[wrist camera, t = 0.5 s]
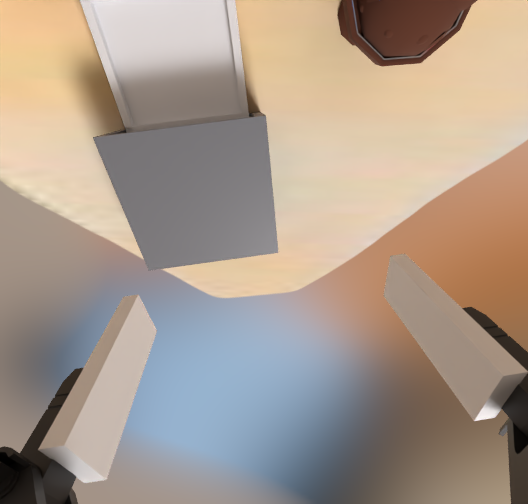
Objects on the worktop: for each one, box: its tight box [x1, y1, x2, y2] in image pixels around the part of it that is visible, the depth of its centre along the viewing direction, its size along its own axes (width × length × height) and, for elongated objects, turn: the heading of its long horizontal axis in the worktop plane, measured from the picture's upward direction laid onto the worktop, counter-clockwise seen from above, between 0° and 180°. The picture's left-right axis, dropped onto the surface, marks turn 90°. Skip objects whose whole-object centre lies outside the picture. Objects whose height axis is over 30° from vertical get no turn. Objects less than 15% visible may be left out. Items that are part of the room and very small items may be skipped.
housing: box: [93, 112, 278, 270], centre depth 32 cm, size 16×17×7 cm
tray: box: [80, 0, 249, 133], centre depth 26 cm, size 16×17×6 cm
